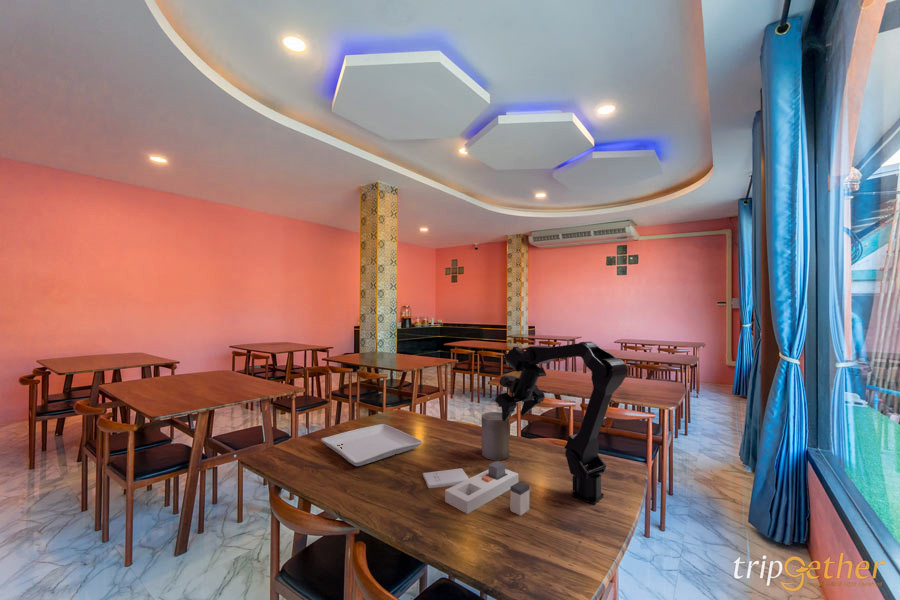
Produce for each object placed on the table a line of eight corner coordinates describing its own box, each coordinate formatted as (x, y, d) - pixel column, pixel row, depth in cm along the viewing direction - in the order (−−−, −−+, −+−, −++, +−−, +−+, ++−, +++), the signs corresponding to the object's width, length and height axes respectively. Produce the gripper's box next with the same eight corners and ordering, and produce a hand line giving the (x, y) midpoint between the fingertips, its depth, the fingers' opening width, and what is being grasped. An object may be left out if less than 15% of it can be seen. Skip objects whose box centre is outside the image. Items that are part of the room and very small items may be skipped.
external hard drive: (469, 485, 105) (428, 490, 102) (461, 472, 113) (422, 477, 110) (470, 479, 105) (428, 484, 102) (461, 467, 113) (422, 471, 110)
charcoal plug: (505, 484, 104) (505, 464, 104) (496, 489, 101) (496, 468, 101) (497, 481, 106) (497, 460, 106) (488, 486, 103) (488, 464, 104)
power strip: (518, 484, 104) (518, 471, 105) (467, 514, 89) (467, 499, 89) (496, 475, 110) (496, 463, 110) (444, 501, 95) (445, 487, 95)
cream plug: (529, 509, 91) (529, 485, 92) (520, 515, 89) (520, 490, 89) (519, 504, 93) (519, 481, 94) (510, 510, 91) (510, 486, 91)
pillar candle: (510, 451, 129) (510, 409, 130) (508, 462, 120) (507, 416, 120) (483, 448, 131) (483, 407, 132) (479, 459, 122) (478, 414, 123)
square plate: (319, 448, 132) (319, 437, 132) (383, 431, 150) (383, 422, 150) (354, 473, 112) (354, 460, 112) (423, 450, 130) (423, 439, 130)
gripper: (528, 363, 129) (515, 398, 135) (491, 369, 118) (478, 407, 123) (552, 381, 121) (537, 417, 127) (514, 390, 110) (499, 430, 115)
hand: (512, 417), depth 123 cm, fingers open, 9 cm apart
